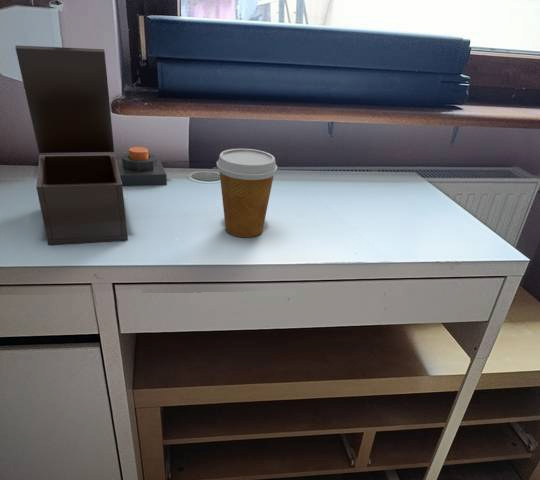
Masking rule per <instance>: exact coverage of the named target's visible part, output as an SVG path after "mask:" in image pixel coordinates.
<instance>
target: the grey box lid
mask: <svg viewBox="0 0 540 480" xmlns="http://www.w3.org/2000/svg"><path fill="white" fill-rule="evenodd" d="M14 49H15V53H16V57H17V58H16V59H17V63H18V66H19V70H20V75H21V79H22V83H23V88H24V89H25V91H24V93H25V97H26V101H27V107H28V110H29V115H30V119H31V124H32V128H33V134H34V138H35V142H36V146H37V152H38V154H69V153H71V154H73V153H74V154H77V153H78V154H79V153H84V154H85V153H115V143H114V135H113V134H114V133H113V124H112V123H113V122H112V113H111V112H112V111H111V103H110V92H109V82H108V72H107V61H106V52H105V51H106V50H105V49H104V48H84V47H63V46H61V47H59V46H39V45H38V46H37V45H15V47H14Z"/></svg>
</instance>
